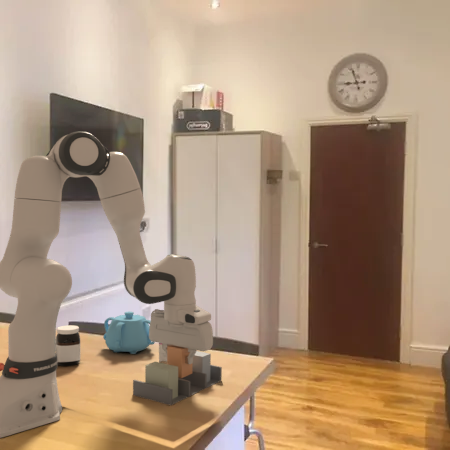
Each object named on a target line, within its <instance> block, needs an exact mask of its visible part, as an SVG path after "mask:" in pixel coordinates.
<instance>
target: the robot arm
mask: <svg viewBox="0 0 450 450" xmlns="http://www.w3.org/2000/svg"><path fill="white" fill-rule="evenodd" d="M83 177H87V178H89V179H90V180H91V182H93V184H94V186H95V188H96V189H97V193H98V197H99V200H100V203H101V207H102V209H103V211H104V214H105V216H106V218H107V220H108V221H109V224H110V225H111V227H112V229H113V231H114V233H115V235H116V238H117V241H118V245H119V248H120V252H121V255H122V258H123V259H122V260H123V262H124V275H123V285H124V289H125V290H126V292H127V294H129V295H130V296H131V297H133V298H135V299H137V300H138V301H139V302H140V303H143V304H148V305H153V304H157V303H162V302H163V309H160V308H156V309H154V310H152V312H151V313H150V324H149V326H150V328H149V338H150V340H151V342H155V343H158V344H159V343H163V347H164V349H165V352H166V354H167V347H168V346H171V345H173V346H178V347H183V348H188V352H190V353H189V355H188V357H185V363H186V364H192V363H193V357H194V355H195V353H196V351H200V352H206V351H209V350H211V349H212V347H213V344H214V335H213V327H212V324H211V323H210V321H211V320H212V314H211V312H209V311H206V310H205V309H204V308H202V307H200V306H198V305H197V304H196V301H197V300H196V296H195V290H196V289H197V279H196V278H197V277H196V276H197V273H196V265H195V262H194V260H192V259H191V258H190V257H188V256H186V255H182V254H174V253H172V254H171V253H170V254H168V255H166V256H165V257H164V258H162V260H159V261H157V262H156V263H154V264H152V265H151V263H150V262H149V260H148V259H147V256H146V252H145V248H144V245H143V240H142V237H141V233H140V231H141V229H140V228H141V223H142V221H143V218H144V216H145V213H146V211H145V209H146V208H145V207H146V206H145V201H144V196H143V192H142V188H141V184H140V182H139V179H138V176H137V174H136V172H135V170H134V168H133V165H132V164H131V161H130V160H129V158H128V156H127V155H125V154H124V153H123V152H121V151H120V152H119V151H109V149H107V147H106V146H104V145H103V144H102V142H101V141H100V140H99V139H98V138H97V137H95V136H94V135H93V134H92V133H90V132H87V131H73V132H70V133H69V134H66V135H63V136H62V137H60V138H59V139H58V140H57V141H56V142H55V143H54V144H53V145H52V147H51V148H50V149H49V151H48V153H47V154H46V155H33V156H29V157H26V158H25V159H24V160H23V161H22V163H21V165H20V167H19V171H18V174H17V179H16V185H15V190H14V198H13V199H14V200H13V211H12V221H11V230H10V236H9V237H8V242H7V245H6V247H5V251H4V254H3V257H2V259H1V260H0V290H1V291H2V292H3V293H5V294H6V295H8V296H10V297H13V298H15V299H17V306H16V310H15V314H14V318H13V319H12V321H11V322H10V324H9V326H8V330H7V331H8V334H7V335H8V339H7V340H8V341H7V343H8V351H7V352H8V356H7V357H6V361H5V363H3V362H0V372H1V375H0V439H1V438H4V437H8V436H11V435H15V434H17V433H20V432H21V433H22V432H25V431H27V430H31V429H34V428H38V427H41V426H44V425H47V424H49V423H53V422H58V421H59V420H60V419H61V413H62V411H63V406H62V402H61V399H60V393H59V388H58V380H57V370H58V365H57V354H56V352H55V348H56V336H57V321H58V316H59V313H60V310H61V309H60V308H61V305H62V304H63V301H64V300H65V298H67V297H68V296H69V294H70V293H71V289H72V285H73V279H72V274H71V271H70V270H69V269H68V268H67V267H66V266H65V265H63V264H62V263H60V262H58V261H56V260H55V259H52V258H47V257H48V255H49V252H50V248H51V246H52V244H53V242H54V240H55V239H56V237H57V236H58V235H59V233H60V226H61V225H60V224H61V210H62V197H63V196H62V195H63V194H62V193H63V188H64V185H65V182H66V181H67V180H68V179H74V178H83Z"/></svg>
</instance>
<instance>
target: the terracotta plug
mask: <svg viewBox="0 0 450 450" xmlns="http://www.w3.org/2000/svg"><path fill="white" fill-rule="evenodd" d="M189 353H190V352H188V348H183V347H178V346H173V345H171V346H168V347H167V361H166V362H167V363H166V364H168V365H173V366H177V367H178V378H183V377H186V376H188V375H190V374H192V364H186V363H185V357H188V355H189Z"/></svg>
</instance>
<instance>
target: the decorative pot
mask: <svg viewBox="0 0 450 450" xmlns="http://www.w3.org/2000/svg"><path fill="white" fill-rule="evenodd" d="M109 321H110V324H109ZM150 321H151V319H147V318H146V316H144V315H140V314H134V311H125V312H124V314H121V315H118V316H115V317H114V316H110V317H108V318H106V319H105V320H104V323H103V325H104V329H105V333H104V334H103V339H104V340H105V345H106V347H107V349H109V350H111V351H112V352H113V353H120V352H122V353H123V352H125V353H126V352H127V353H129V354H130V355H136V354H138V352H140V351H144V350H145V349H147V348H149V346H150V345H151V346H152V345H155V343H156V342H152V341H151V340H150V338H149V328H150Z"/></svg>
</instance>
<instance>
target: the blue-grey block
mask: <svg viewBox="0 0 450 450" xmlns="http://www.w3.org/2000/svg"><path fill="white" fill-rule="evenodd" d="M211 358H212V355H211V353H208V352H206V351H198V350H197V351H196V353H195V355H194V357H193V363H192V371H196V372H201V373H205V374H207V382H209V381H210V366H211V365H212V364H211V363H212V362H211Z"/></svg>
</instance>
